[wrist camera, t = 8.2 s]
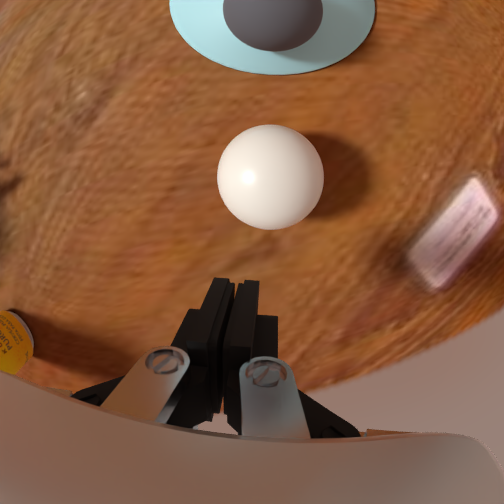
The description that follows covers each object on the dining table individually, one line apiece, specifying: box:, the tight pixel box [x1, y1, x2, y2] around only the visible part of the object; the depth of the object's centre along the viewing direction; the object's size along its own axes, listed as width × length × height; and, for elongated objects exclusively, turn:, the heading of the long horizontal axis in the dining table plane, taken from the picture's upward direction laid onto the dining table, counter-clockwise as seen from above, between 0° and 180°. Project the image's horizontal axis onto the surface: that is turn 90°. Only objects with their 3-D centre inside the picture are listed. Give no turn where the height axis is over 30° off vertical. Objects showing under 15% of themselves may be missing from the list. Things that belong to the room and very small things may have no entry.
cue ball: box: [217, 125, 324, 230], centre depth 15 cm, size 6×6×6 cm
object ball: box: [223, 0, 323, 52], centre depth 12 cm, size 6×6×6 cm
